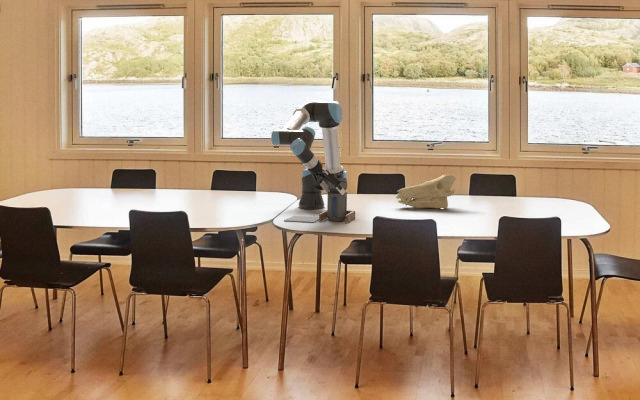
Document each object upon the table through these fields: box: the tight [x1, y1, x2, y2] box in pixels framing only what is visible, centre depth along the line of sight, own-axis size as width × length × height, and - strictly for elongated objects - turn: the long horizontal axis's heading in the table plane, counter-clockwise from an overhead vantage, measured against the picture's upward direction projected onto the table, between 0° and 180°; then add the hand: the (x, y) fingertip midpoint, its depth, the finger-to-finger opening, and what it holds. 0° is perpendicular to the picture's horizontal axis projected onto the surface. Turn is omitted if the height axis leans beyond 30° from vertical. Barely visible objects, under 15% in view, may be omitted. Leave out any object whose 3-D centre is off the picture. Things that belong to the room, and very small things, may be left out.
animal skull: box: [395, 173, 457, 209], centre depth 444 cm, size 15×35×20 cm, turn 95°
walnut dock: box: [318, 209, 356, 224], centre depth 395 cm, size 18×15×4 cm
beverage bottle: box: [326, 173, 348, 222], centre depth 393 cm, size 10×13×25 cm
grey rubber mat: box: [283, 214, 319, 224], centre depth 394 cm, size 18×16×1 cm
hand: (336, 192), depth 392 cm, fingers open, 13 cm apart
